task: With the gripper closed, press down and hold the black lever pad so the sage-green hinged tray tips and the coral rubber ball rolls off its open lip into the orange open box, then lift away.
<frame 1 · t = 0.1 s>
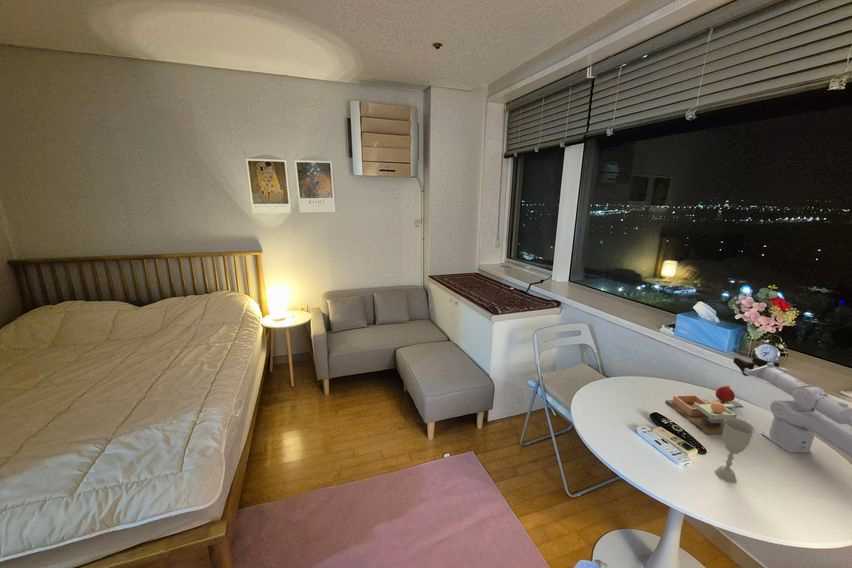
hand: (744, 359, 129), 22 cm above the table, tool horizontal, fingers open, 7 cm apart
tipping tray: (723, 410, 123), point 6 cm above the table, hinge at 0.0°, touching ball
chalice: (725, 476, 101), on the table
onion: (722, 403, 138), on the table
orange open box: (691, 410, 132), resting on base board
ball: (717, 407, 121), point 8 cm above the table, touching tipping tray
base board: (705, 416, 129), on the table
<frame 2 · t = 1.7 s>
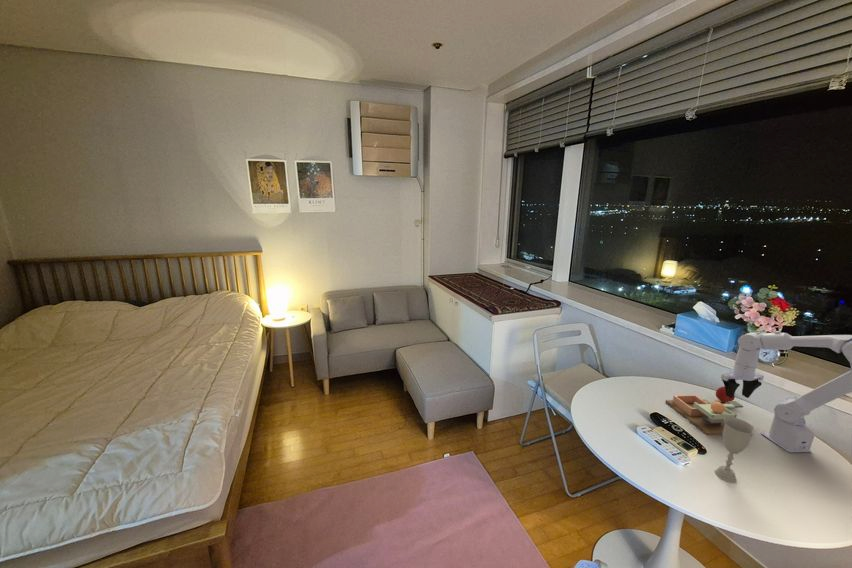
hand: (737, 396, 126), 9 cm above the table, tool pointing down, fingers open, 6 cm apart
nothing on the table moved.
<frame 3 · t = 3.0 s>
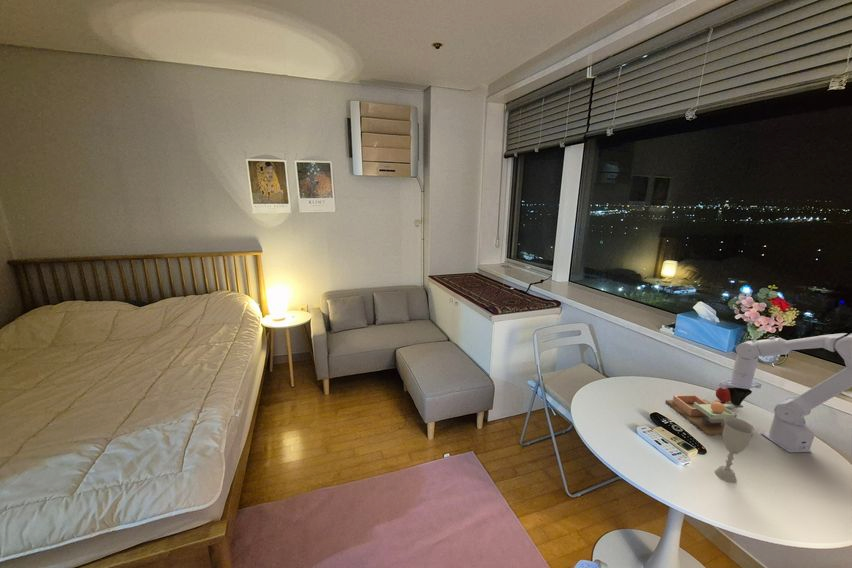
hand: (735, 404, 126), 6 cm above the table, tool pointing down, fingers closed, pressing on tipping tray
tipping tray: (723, 410, 123), point 6 cm above the table, hinge at 0.4°, touching ball, gripper
everything else where it was.
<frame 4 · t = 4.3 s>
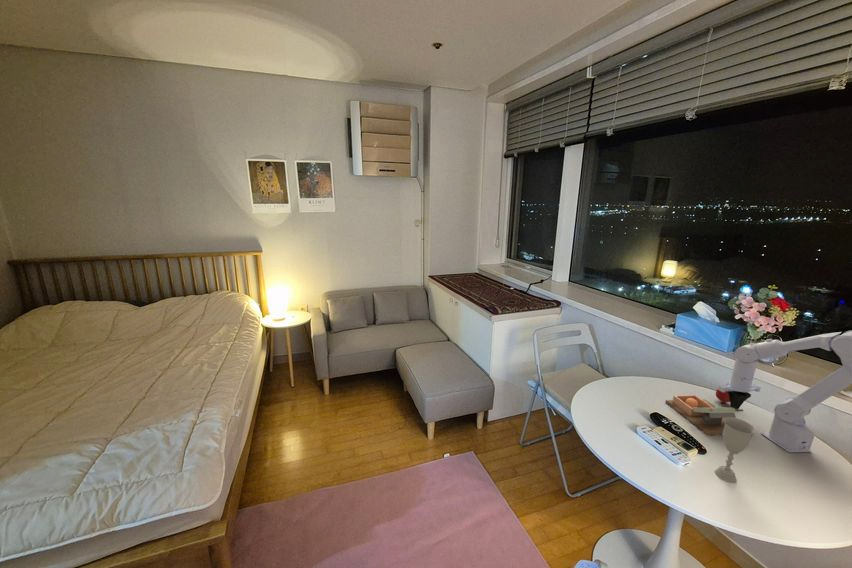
hand: (734, 407, 127), 5 cm above the table, tool pointing down, fingers closed
tipping tray: (724, 411, 123), point 5 cm above the table, hinge at 32.0°
ball: (691, 403, 132), point 3 cm above the table, tilted 12°, touching base board
everything else where it was.
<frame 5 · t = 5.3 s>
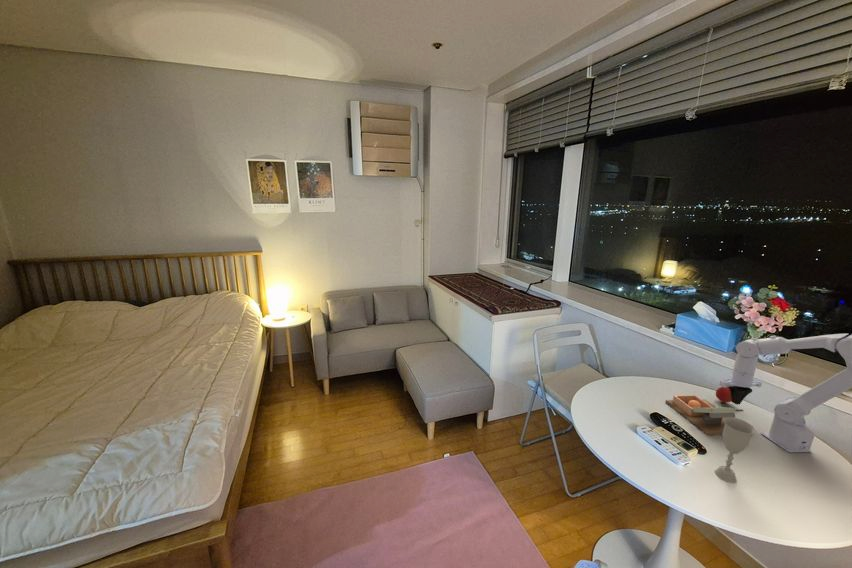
hand: (735, 402, 126), 7 cm above the table, tool pointing down, fingers closed
tipping tray: (724, 411, 123), point 5 cm above the table, hinge at 32.3°
ball: (694, 405, 131), point 3 cm above the table, tilted 50°, touching base board
everything else where it was.
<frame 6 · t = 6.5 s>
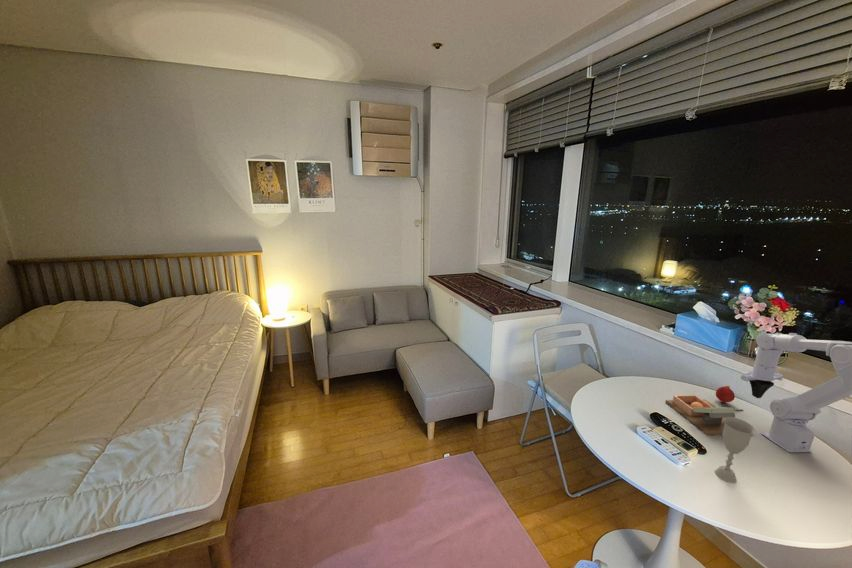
hand: (756, 396, 126), 9 cm above the table, tool pointing down, fingers closed
ball: (697, 407, 130), point 3 cm above the table, tilted 88°, touching base board
everything else where it was.
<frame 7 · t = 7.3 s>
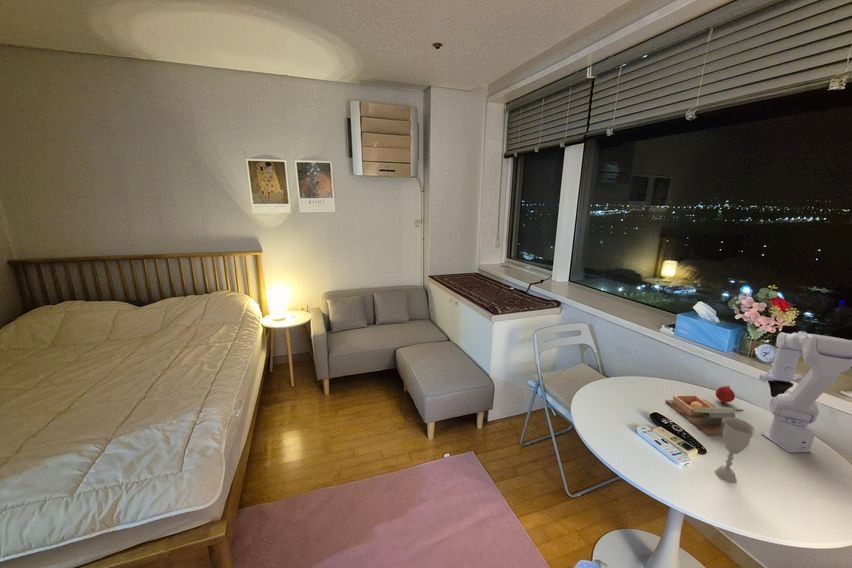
hand: (775, 397, 125), 9 cm above the table, tool pointing down, fingers closed
ball: (696, 406, 130), point 3 cm above the table, tilted 80°, touching base board
everything else where it was.
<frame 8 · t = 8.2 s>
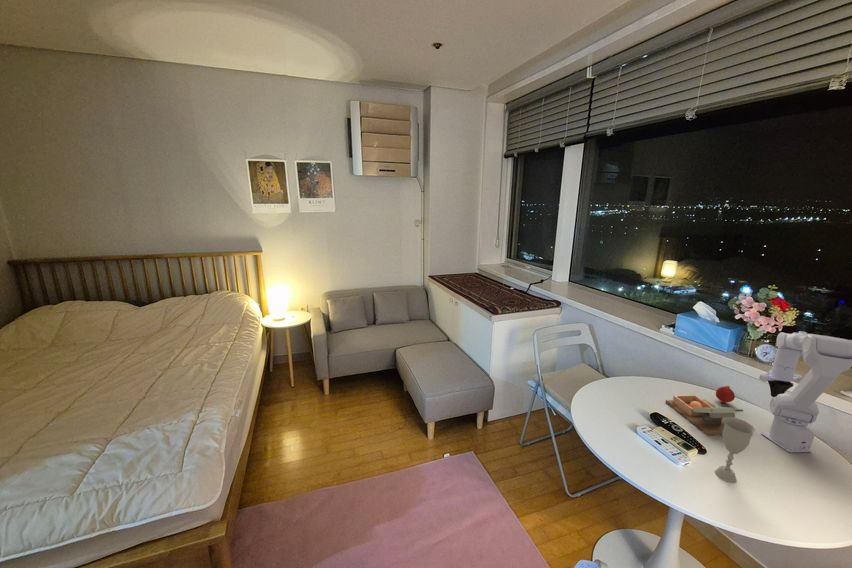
hand: (775, 397, 125), 9 cm above the table, tool pointing down, fingers closed
ball: (695, 406, 130), point 3 cm above the table, tilted 72°, touching base board
everything else where it was.
at the end: ball 1.4 cm off-centre on the orange open box, point 3.0 cm above the orange open box's base; ball point 3.0 cm above the table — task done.
